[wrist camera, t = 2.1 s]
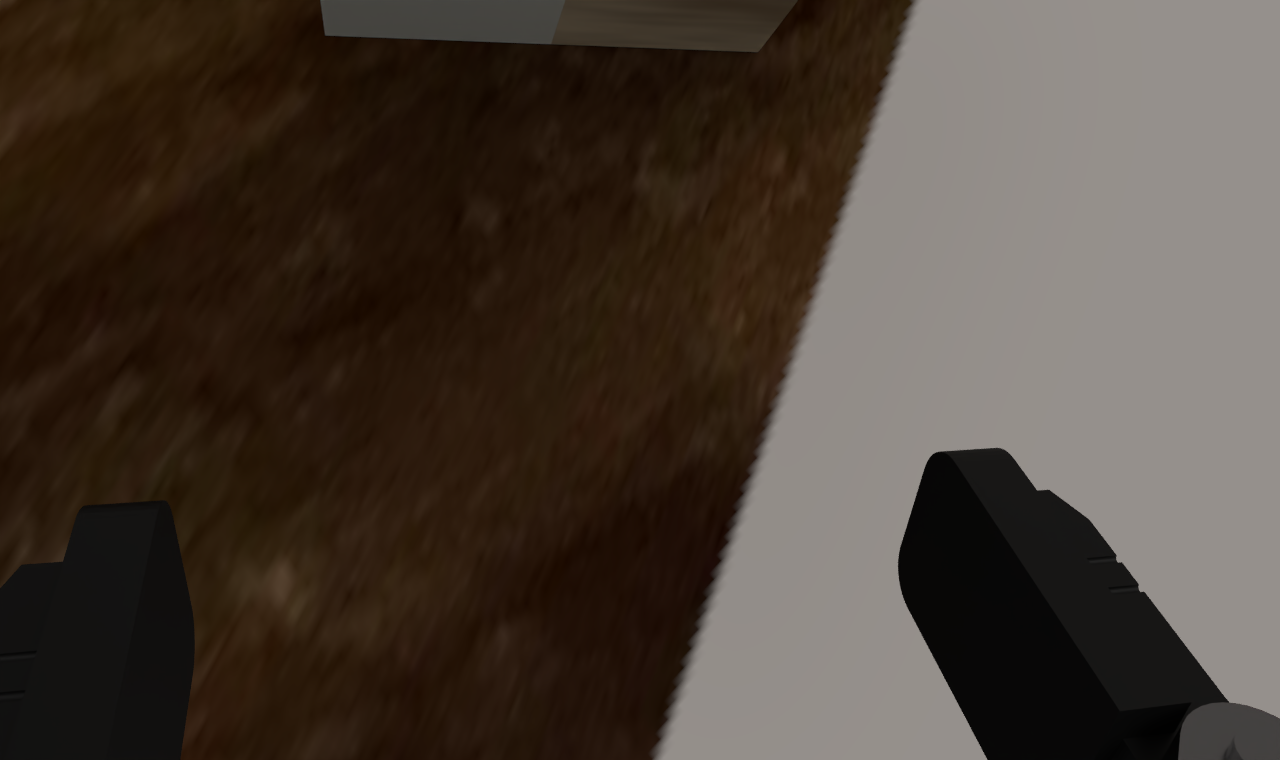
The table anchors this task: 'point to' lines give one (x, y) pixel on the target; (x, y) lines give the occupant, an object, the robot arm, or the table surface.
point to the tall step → (444, 19)
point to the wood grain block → (671, 23)
